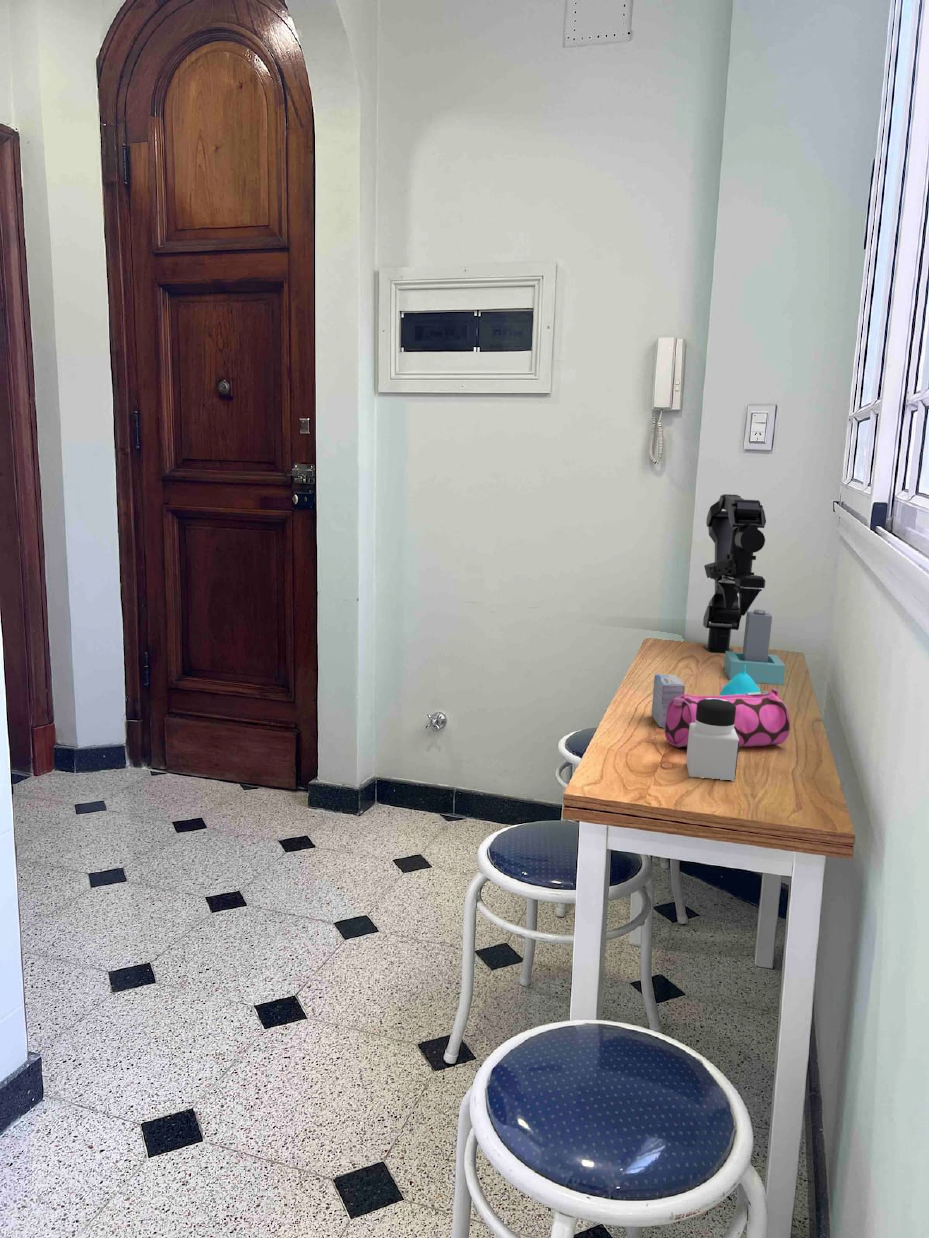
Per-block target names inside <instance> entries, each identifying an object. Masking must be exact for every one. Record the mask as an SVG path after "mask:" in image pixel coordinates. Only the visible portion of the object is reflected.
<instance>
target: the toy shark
mask: <svg viewBox="0 0 929 1238" xmlns="http://www.w3.org/2000/svg"><path fill="white" fill-rule="evenodd" d="M755 692H761V693H762V691H761V688H760V687H759V685H757V683H755V682H754V681H753V679H752V678H751V677H750V676H749V675H748V674H746V666H745V665H744V669H743V672H742V673H739V674H737V675H736V676H735V677H734V678H733V679H732V680H731V681H730V680H729V682H727V683H726V684H725V685H724V686H723V687H722V689H721V690H720V694H719V695H737V694H747V693H755Z"/></svg>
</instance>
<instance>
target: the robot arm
mask: <svg viewBox="0 0 929 1238" xmlns="http://www.w3.org/2000/svg"><path fill="white" fill-rule="evenodd" d="M718 499H719V500H718V501H716V502H715V503H714V504H712V505H711V506H710V507H709V510H708V512H707V516H706V524H705V525H706V527H707V528H708V535H709V537H710V539H711V541H712V542H713V544H714V562H711V563H708V564H705V565H704V570H705V575H706V578H707V579H708V578H710V580H711V579H712V580H713V581H714V594H713V596H712V597H711V599H710V600H709V602H708V605H707V607H706V609H705V612H704V614H703V621H702V622H703V623H702V625H703V627H704V628H706V629H709V630H708V639H707V644H704V645H703V648H704V649H706V650H707V651H708V652H711V653H713V652H715V653H725V652H726V651H733V652H734V650H733V649H732V648H730V644H731V637H732V636H731V635H732V630H735V631H739V629H740V623H741V619H742V616H746V615H747V611H748V610H750V607H751V606H752V605H753V603H754V601H755V600H756V598H757V597H758V596H759V593H761V592H762V591H763V590H762V589H765V588H766V587H765V586H766V580H765V578H764V577H763V576H762V575H757V574H755V572H753V571H752V570H753V569H752V568H753V561H756V560H757V556H756V555H754V553H757V552H759V551H760V550H762V549H763V548H764V546H765V543H766V537H765V535H764V533H763V531H762V530H760V529H764V528H765V527H766V526H765V525H766V524H767V519H766V514H765V510H764V507H763V506H764V505H762V503H761V501H760V500H759V499H745V498H742V497H741V496H740V495H738V494H731V493H729V494H728V493H726V494H725V493H723V494H721V495H720V497H719V498H718ZM748 612H749V611H748Z"/></svg>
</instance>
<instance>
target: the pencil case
mask: <svg viewBox="0 0 929 1238" xmlns="http://www.w3.org/2000/svg"><path fill="white" fill-rule="evenodd" d="M770 691H771V692H770ZM770 691H768V690H762V691H761V692H755V693H747V694H737V695H720V694H718V695H717V694H716V695H691V694H686V693H685V694H683V695H681V696H678V697H676V698H674V699H673V700H672V701H671V702H670V703H669V705H668V709H667V715H666V721H665V728H664V735H665V739H666V740H667V742H668V743H669V744H670V745H671V746H673V747H675V748H681V747H683V748H687V747H688V737H689V726H690V723H695V721H696V710H697V703H698V702H699V701H700V700H703V699H706V698H717V699H723V700H727V701H729V702H731V703H733V704H734V705H735V707H736V714H735V724H734V729H735V731H736V733H737V736H738V738H739V747H740V748H741V747H763V746H768V745H769V746H776V745H781V744H783V743H784V742H785V741H786V740H787V739H788V736H790V735H789V734H790V730H791V720H790V713H789V709H788V707H787V705H786V703H784V701H783V700H781V699H780V698H779V691H778V689H776V688H771V690H770Z"/></svg>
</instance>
